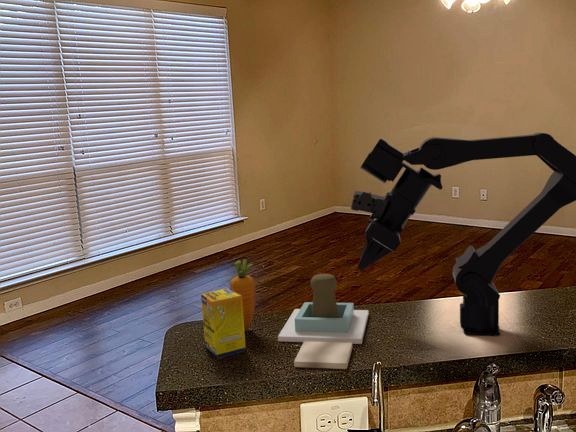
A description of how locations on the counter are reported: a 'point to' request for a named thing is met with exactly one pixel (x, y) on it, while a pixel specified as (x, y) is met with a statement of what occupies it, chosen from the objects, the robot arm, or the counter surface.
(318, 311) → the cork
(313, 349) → the pad
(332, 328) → the housing
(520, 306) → the counter surface
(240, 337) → the supplement box
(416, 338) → the counter surface
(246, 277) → the carrot
